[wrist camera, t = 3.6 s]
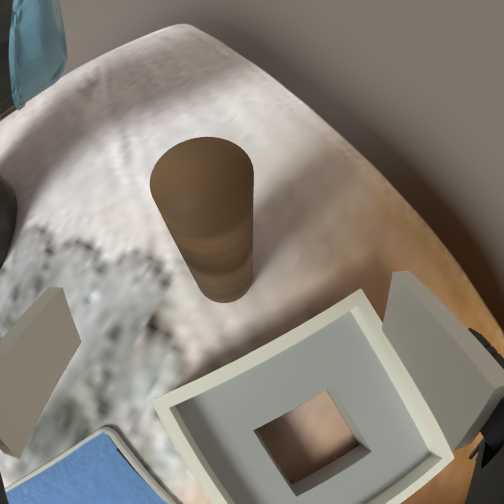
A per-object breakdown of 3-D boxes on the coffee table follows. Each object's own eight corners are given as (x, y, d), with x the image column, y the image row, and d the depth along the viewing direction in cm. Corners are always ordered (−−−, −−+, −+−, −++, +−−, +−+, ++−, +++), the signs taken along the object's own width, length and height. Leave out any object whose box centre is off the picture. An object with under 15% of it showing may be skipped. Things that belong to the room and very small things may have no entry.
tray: (168, 396, 19) (150, 400, 15) (342, 303, 22) (360, 288, 18) (265, 545, 14) (268, 572, 11) (426, 449, 17) (454, 457, 13)
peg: (188, 265, 23) (137, 162, 12) (235, 241, 23) (225, 125, 12) (211, 312, 21) (171, 239, 10) (261, 286, 22) (273, 191, 11)
